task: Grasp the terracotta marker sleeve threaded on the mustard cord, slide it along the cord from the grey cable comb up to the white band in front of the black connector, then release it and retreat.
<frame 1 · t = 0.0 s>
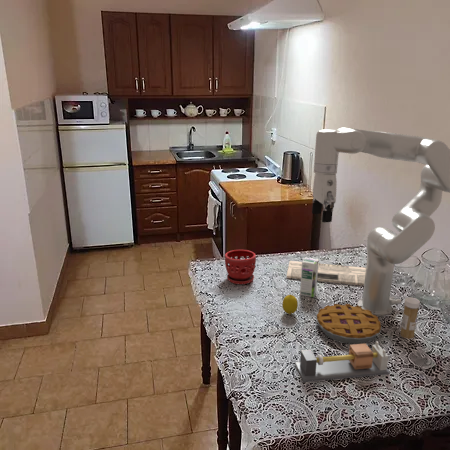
hand: (321, 217, 147), 37 cm above the table, tool pointing down, fingers open, 9 cm apart
pie: (347, 329, 148), on the table
sleeve: (360, 356, 126), point 4 cm above the table, slide at 0.0 cm
lemon: (289, 314, 157), on the table
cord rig: (341, 369, 127), on the table
plant pot: (239, 280, 184), on the table
sprinkles bottle: (406, 336, 144), on the table
syrup box: (307, 293, 173), on the table
newspaper: (329, 275, 191), on the table
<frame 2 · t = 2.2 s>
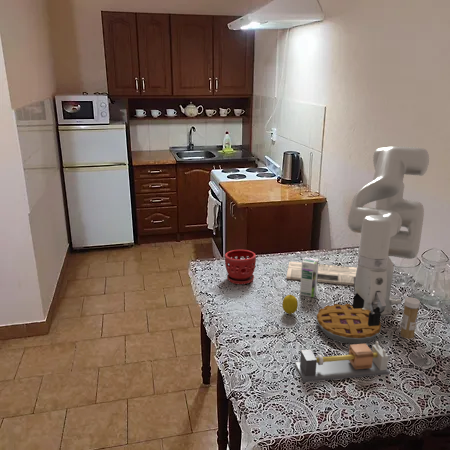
hand: (365, 316, 122), 17 cm above the table, tool pointing down, fingers open, 9 cm apart
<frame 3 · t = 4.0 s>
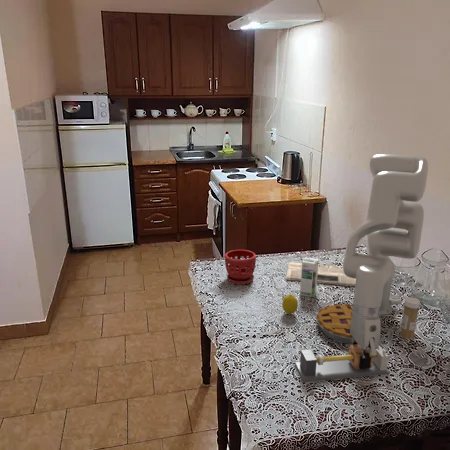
hand: (359, 361, 127), 2 cm above the table, tool pointing down, fingers closed on sleeve, 5 cm apart
sleeve: (360, 356, 126), point 4 cm above the table, slide at 0.0 cm, touching gripper
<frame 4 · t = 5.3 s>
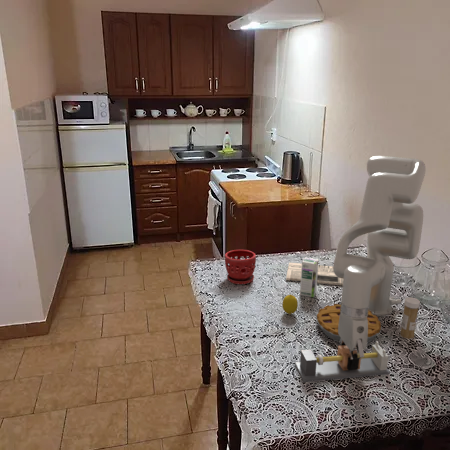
hand: (348, 362, 126), 2 cm above the table, tool pointing down, fingers closed on sleeve, 5 cm apart
sleeve: (348, 357, 126), point 4 cm above the table, slide at 3.7 cm, touching gripper
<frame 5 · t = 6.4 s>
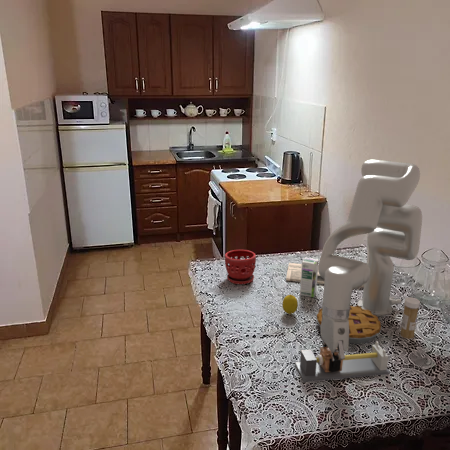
hand: (330, 364, 126), 2 cm above the table, tool pointing down, fingers closed on sleeve, 5 cm apart
sleeve: (330, 358, 125), point 4 cm above the table, slide at 9.1 cm, touching gripper
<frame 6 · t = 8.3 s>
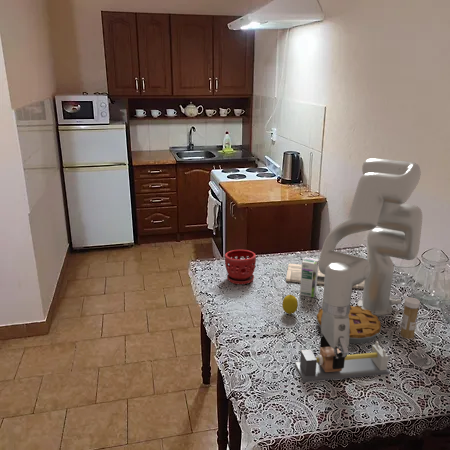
hand: (331, 357, 125), 4 cm above the table, tool pointing down, fingers open, 9 cm apart
sleeve: (330, 358, 125), point 4 cm above the table, slide at 9.2 cm
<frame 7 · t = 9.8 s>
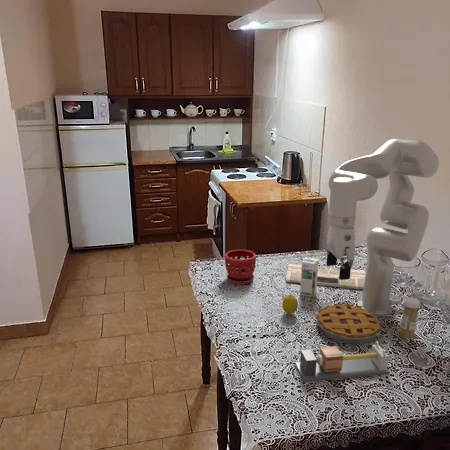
hand: (337, 272, 132), 25 cm above the table, tool pointing down, fingers open, 9 cm apart
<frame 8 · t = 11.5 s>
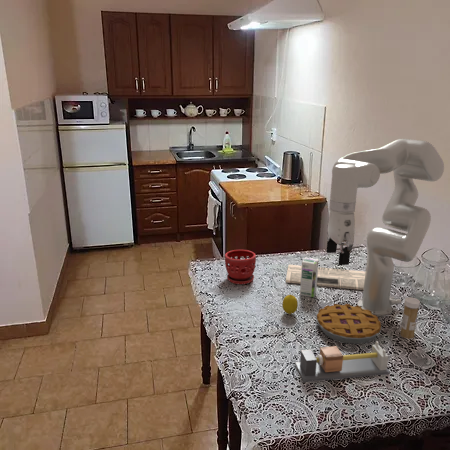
hand: (337, 258, 134), 28 cm above the table, tool pointing down, fingers open, 9 cm apart
at the end: sleeve slide at 9.2 cm; the gripper is holding nothing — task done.
